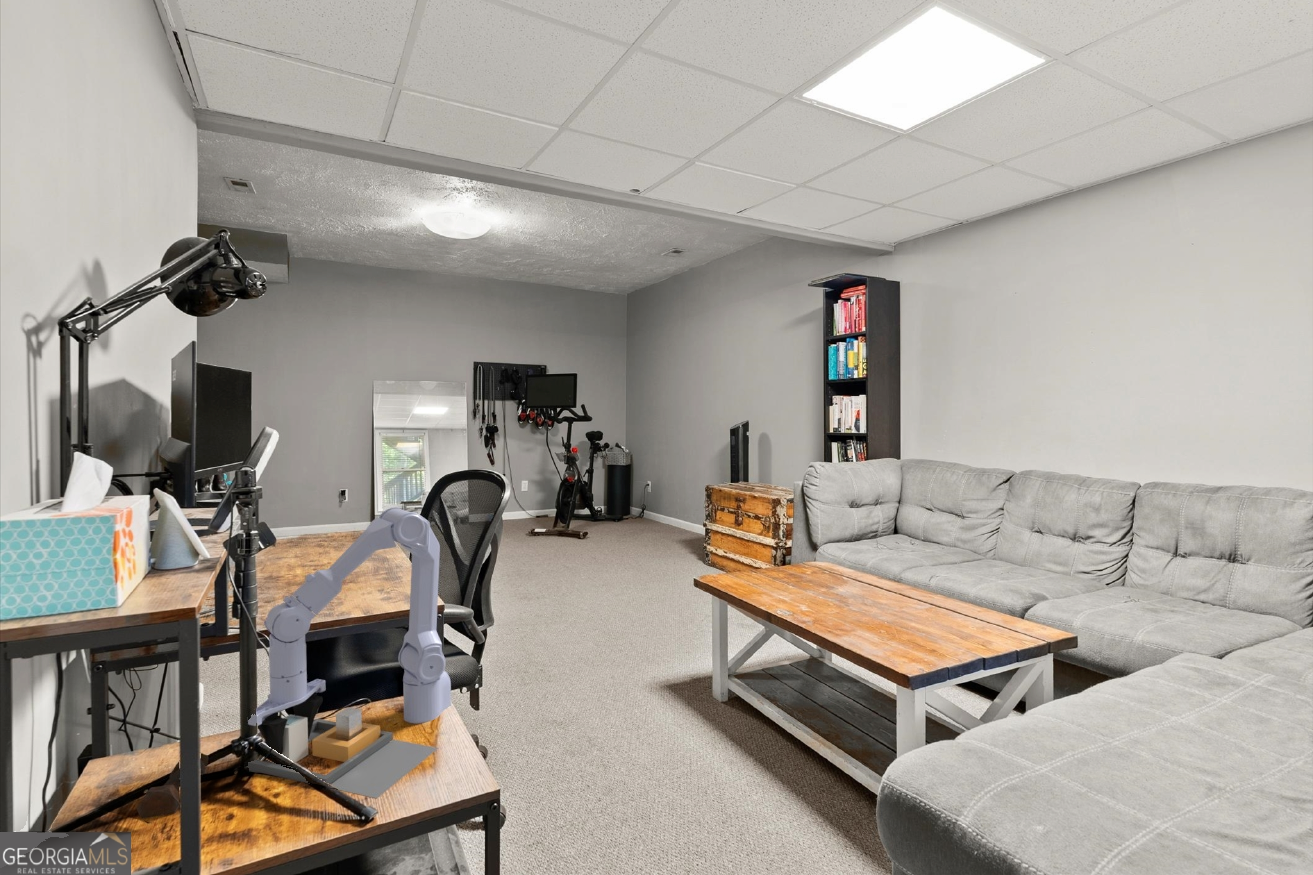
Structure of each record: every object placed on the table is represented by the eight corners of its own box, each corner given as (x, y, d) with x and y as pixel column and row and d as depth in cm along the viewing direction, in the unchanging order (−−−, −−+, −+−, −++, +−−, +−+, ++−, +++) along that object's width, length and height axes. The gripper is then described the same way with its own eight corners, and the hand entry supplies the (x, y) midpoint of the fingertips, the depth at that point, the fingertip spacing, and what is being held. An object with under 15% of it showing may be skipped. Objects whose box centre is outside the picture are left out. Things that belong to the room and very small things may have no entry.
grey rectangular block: (349, 743, 119) (348, 707, 119) (361, 746, 118) (361, 709, 118) (336, 751, 116) (335, 714, 116) (349, 754, 116) (348, 716, 115)
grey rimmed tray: (317, 730, 126) (317, 711, 126) (393, 745, 121) (392, 724, 120) (243, 775, 111) (243, 752, 111) (326, 793, 105) (325, 770, 105)
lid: (391, 745, 121) (391, 738, 121) (438, 754, 118) (438, 747, 118) (324, 793, 105) (324, 786, 105) (376, 805, 102) (376, 798, 102)
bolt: (204, 779, 113) (163, 830, 98) (175, 769, 111) (129, 819, 97) (222, 749, 113) (184, 795, 99) (194, 738, 112) (151, 783, 98)
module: (291, 751, 116) (290, 713, 116) (308, 755, 115) (307, 716, 115) (271, 763, 113) (270, 723, 112) (289, 767, 111) (288, 726, 111)
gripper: (304, 654, 121) (305, 723, 122) (233, 685, 108) (235, 763, 108) (333, 658, 119) (335, 729, 120) (265, 691, 105) (267, 770, 106)
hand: (290, 746), depth 114 cm, fingers open, 5 cm apart
